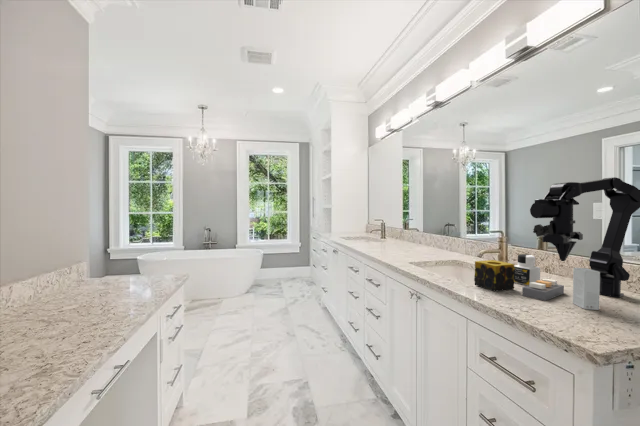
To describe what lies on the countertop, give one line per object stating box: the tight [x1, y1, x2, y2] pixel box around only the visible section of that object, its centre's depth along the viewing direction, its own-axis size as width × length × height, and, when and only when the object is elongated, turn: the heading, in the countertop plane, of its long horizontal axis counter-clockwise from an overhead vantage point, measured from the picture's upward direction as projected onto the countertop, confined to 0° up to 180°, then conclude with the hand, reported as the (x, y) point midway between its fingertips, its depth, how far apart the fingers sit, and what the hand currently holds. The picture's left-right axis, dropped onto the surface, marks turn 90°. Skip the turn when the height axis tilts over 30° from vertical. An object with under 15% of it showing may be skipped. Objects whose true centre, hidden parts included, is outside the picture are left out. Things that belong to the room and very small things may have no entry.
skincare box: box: [572, 267, 601, 311], centre depth 96 cm, size 6×4×12 cm
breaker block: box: [521, 283, 565, 302], centre depth 109 cm, size 16×7×3 cm, turn 123°
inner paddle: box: [541, 278, 558, 285], centre depth 111 cm, size 3×4×1 cm, turn 33°
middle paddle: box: [536, 279, 552, 287], centre depth 109 cm, size 3×4×1 cm, turn 33°
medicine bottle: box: [514, 253, 541, 286], centre depth 125 cm, size 7×7×12 cm
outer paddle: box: [529, 282, 546, 289], centre depth 106 cm, size 3×4×1 cm, turn 33°
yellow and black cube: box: [473, 259, 515, 292], centre depth 119 cm, size 10×10×10 cm
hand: (562, 260), depth 108 cm, fingers closed
